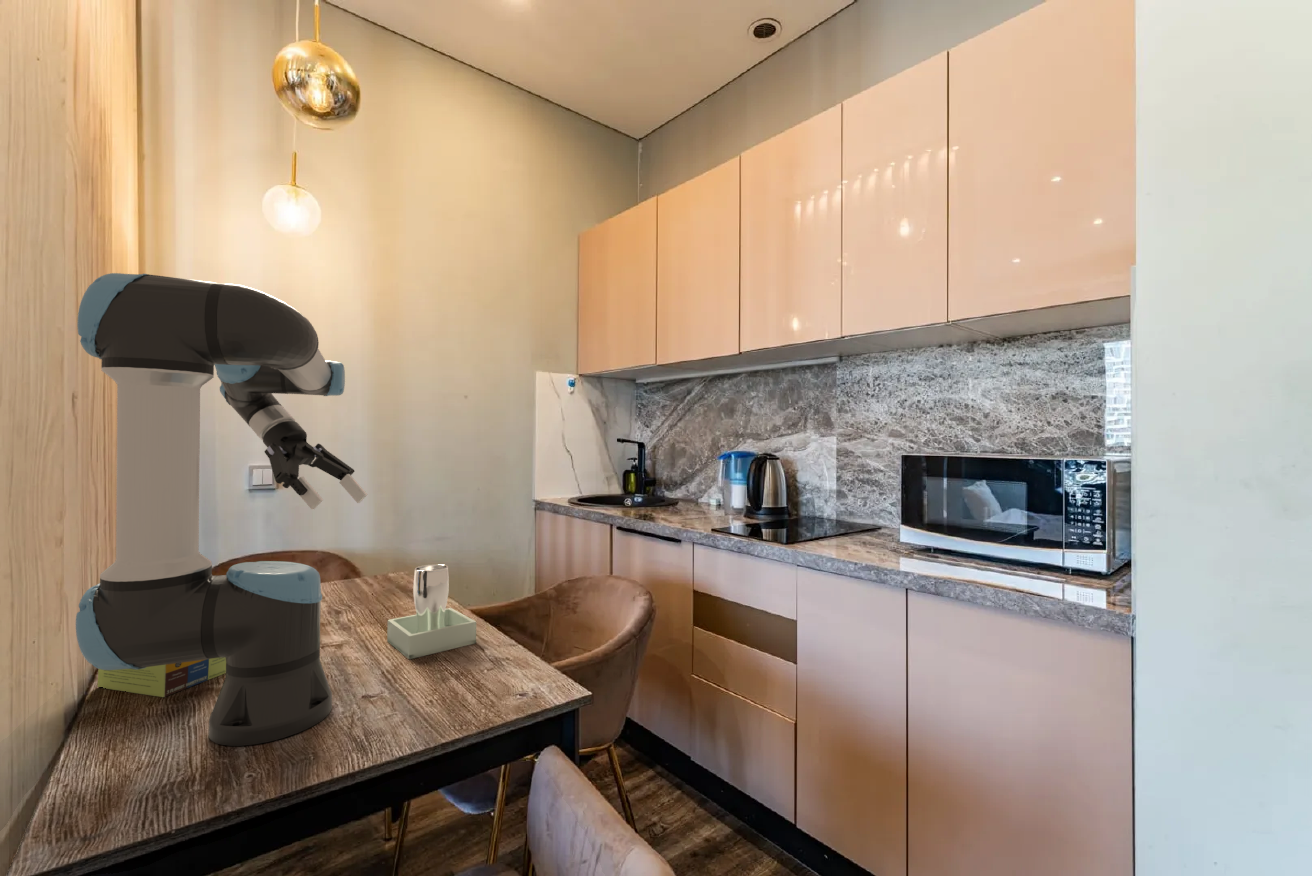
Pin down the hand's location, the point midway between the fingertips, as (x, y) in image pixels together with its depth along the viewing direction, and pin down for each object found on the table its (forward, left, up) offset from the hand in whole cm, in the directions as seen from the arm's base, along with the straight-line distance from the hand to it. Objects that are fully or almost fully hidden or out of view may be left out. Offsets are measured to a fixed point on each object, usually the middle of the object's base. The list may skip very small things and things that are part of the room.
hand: (341, 501), depth 116 cm
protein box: (-1, +28, -30) cm, 41 cm away
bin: (-13, -14, -30) cm, 36 cm away
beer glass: (-13, -14, -29) cm, 35 cm away
